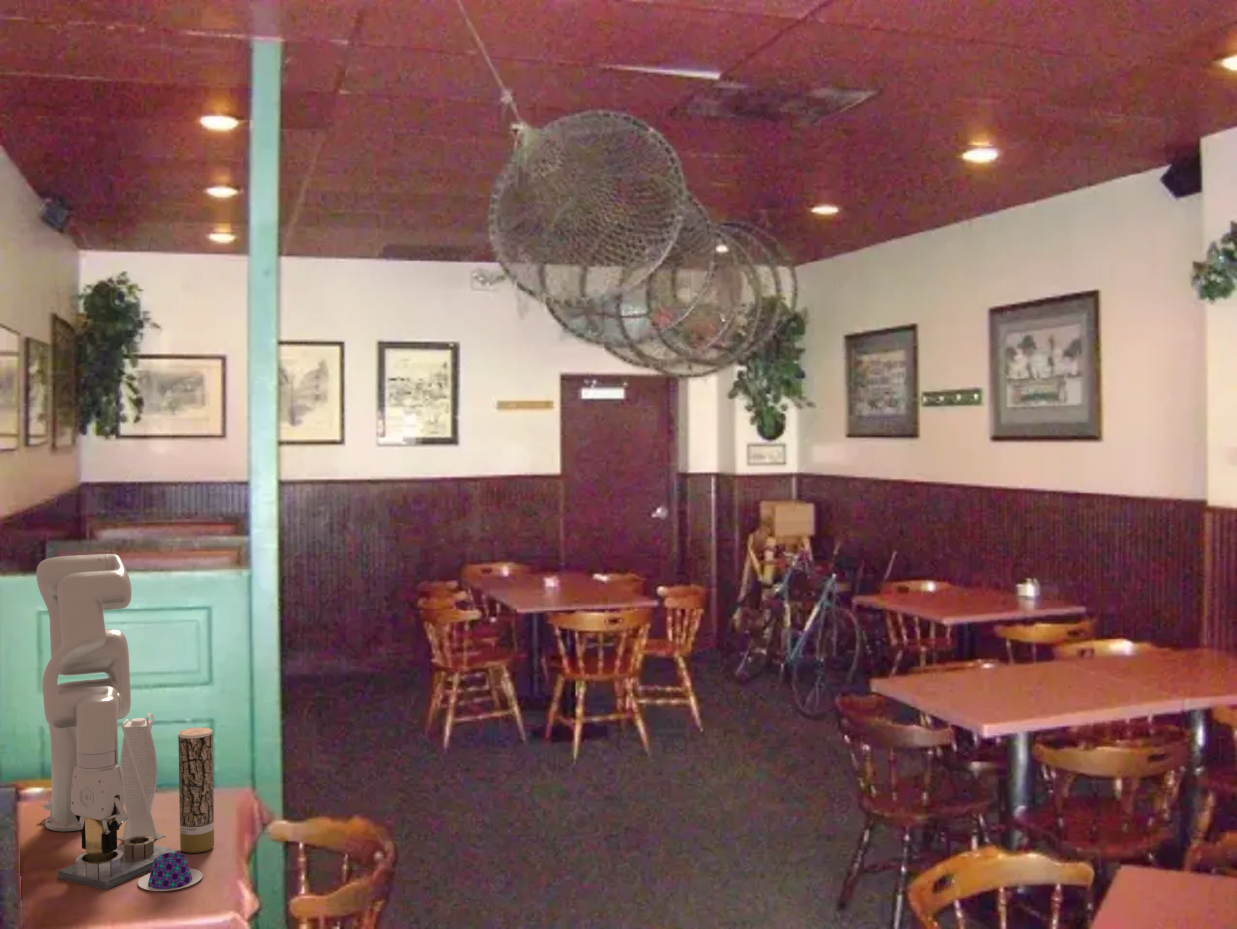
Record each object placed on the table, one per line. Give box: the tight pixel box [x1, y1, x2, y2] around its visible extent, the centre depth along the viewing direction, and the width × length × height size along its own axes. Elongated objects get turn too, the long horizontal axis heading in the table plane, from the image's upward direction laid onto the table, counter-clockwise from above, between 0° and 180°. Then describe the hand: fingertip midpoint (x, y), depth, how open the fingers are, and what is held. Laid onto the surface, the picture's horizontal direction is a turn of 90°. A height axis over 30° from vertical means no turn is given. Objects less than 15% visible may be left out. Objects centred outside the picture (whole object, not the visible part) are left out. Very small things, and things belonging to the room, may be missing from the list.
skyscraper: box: [117, 712, 166, 842], centre depth 273 cm, size 8×8×28 cm
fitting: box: [85, 817, 113, 863], centre depth 252 cm, size 5×5×10 cm
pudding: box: [137, 851, 203, 892], centre depth 250 cm, size 12×12×5 cm
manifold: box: [57, 836, 180, 891], centre depth 257 cm, size 13×19×4 cm
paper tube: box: [177, 726, 215, 854], centre depth 267 cm, size 7×7×25 cm
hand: (99, 848), depth 253 cm, fingers closed on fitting, 4 cm apart
